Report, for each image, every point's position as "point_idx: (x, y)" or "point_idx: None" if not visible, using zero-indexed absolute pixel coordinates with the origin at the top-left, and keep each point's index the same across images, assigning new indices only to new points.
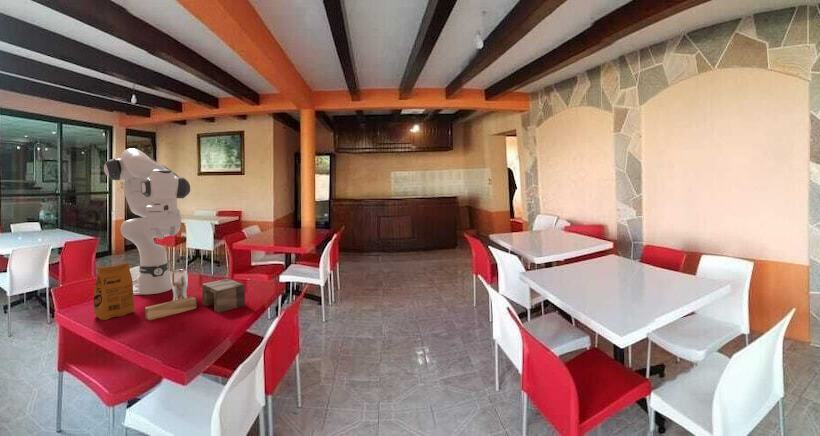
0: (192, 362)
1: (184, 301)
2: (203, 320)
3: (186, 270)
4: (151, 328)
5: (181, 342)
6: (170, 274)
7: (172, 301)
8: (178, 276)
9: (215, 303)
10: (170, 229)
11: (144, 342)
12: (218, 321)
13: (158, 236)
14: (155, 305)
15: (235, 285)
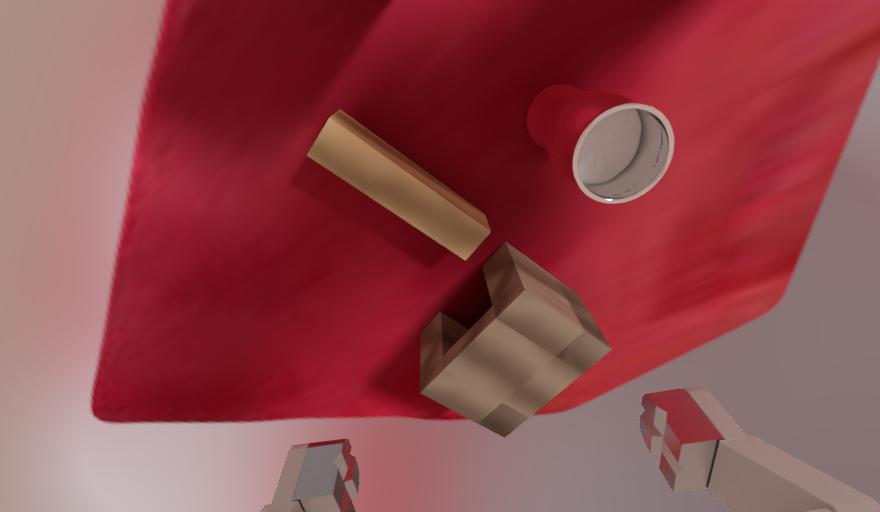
0: (123, 418)
1: (428, 235)
2: (351, 322)
3: (629, 200)
4: (255, 206)
5: (197, 348)
6: (588, 114)
7: (418, 190)
8: (565, 174)
9: (435, 336)
10: (780, 478)
11: (160, 258)
12: (350, 363)
13: (283, 486)
14: (359, 149)
15: (495, 415)
